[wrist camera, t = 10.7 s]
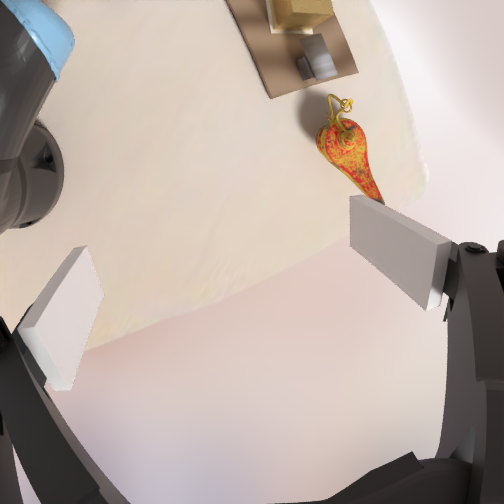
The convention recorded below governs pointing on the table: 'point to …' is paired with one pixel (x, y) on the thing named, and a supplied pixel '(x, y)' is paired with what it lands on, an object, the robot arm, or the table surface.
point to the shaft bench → (292, 49)
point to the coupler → (299, 13)
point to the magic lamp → (348, 150)
